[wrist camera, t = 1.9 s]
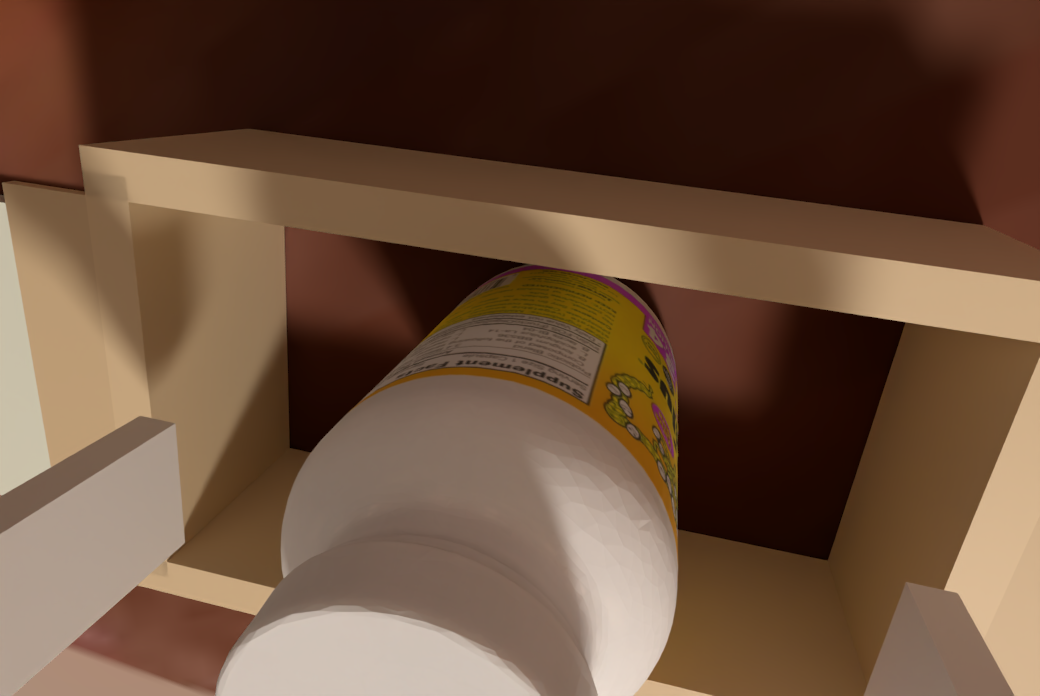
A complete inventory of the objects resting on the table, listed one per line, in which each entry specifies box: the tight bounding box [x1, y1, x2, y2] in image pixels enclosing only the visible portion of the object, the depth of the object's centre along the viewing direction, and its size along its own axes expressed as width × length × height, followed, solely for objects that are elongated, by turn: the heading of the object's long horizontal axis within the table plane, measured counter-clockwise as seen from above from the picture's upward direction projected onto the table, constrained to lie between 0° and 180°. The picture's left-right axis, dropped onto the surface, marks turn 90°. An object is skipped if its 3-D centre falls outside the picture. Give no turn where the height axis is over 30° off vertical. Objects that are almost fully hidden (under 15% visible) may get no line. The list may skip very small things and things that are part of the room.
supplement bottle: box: [215, 264, 678, 696], centre depth 14 cm, size 7×7×13 cm
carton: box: [2, 129, 1040, 696], centre depth 17 cm, size 11×23×6 cm, turn 84°
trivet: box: [0, 195, 51, 495], centre depth 23 cm, size 11×11×1 cm
